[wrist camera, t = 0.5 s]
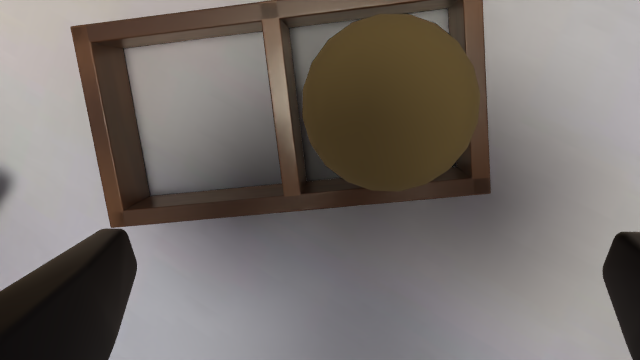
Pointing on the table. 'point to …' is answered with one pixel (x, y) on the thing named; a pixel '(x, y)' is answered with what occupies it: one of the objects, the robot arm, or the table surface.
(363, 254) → the table surface
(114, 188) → the frame
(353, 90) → the cork
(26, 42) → the table surface
